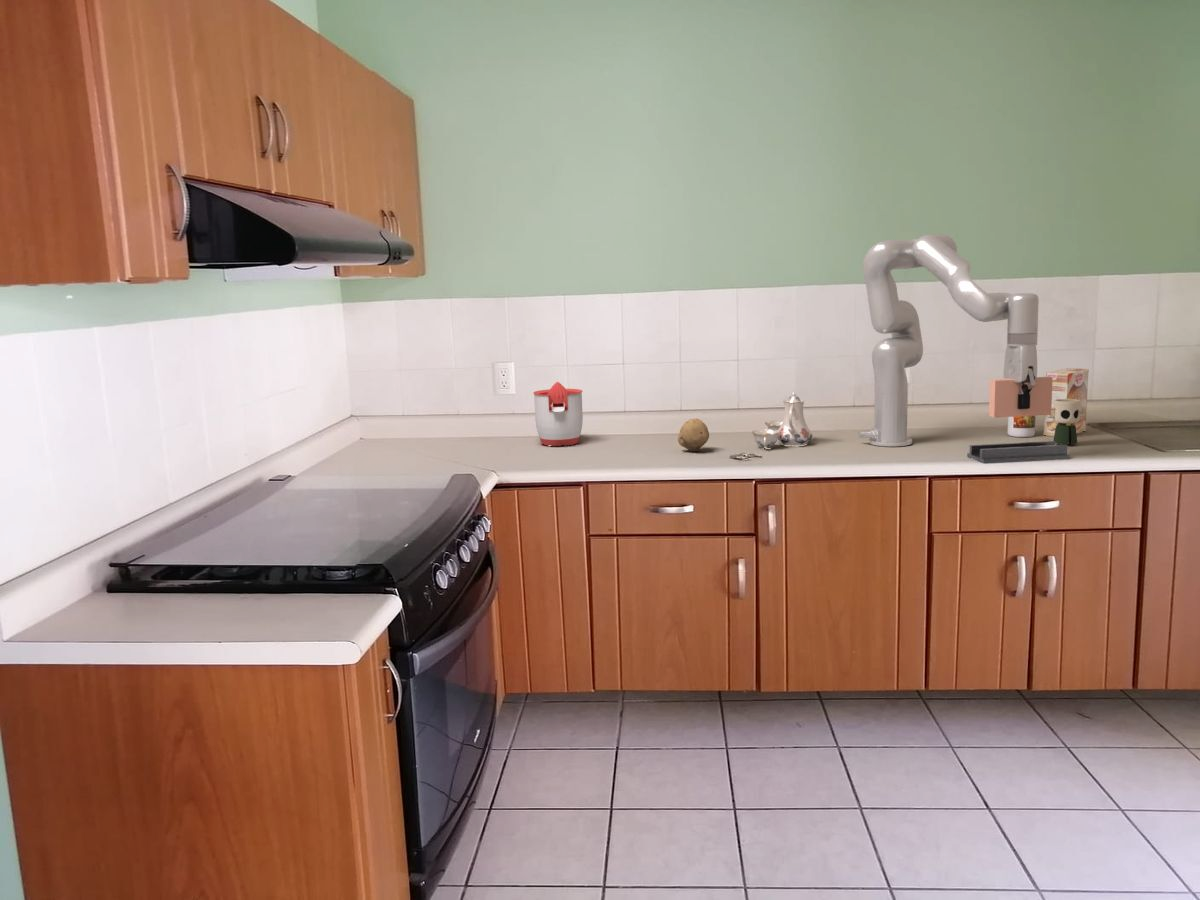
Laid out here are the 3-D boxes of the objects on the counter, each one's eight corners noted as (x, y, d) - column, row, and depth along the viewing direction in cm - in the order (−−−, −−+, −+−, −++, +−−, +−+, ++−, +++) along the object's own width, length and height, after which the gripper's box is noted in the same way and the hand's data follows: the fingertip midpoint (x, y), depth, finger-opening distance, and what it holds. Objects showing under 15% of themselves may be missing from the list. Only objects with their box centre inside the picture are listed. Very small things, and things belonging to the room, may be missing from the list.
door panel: (994, 417, 276) (995, 380, 274) (989, 416, 279) (990, 379, 277) (1051, 414, 278) (1052, 377, 276) (1045, 413, 280) (1046, 376, 279)
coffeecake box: (1065, 438, 308) (1068, 373, 305) (1042, 435, 313) (1044, 372, 310) (1086, 431, 318) (1089, 368, 315) (1063, 429, 323) (1066, 367, 320)
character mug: (1051, 447, 294) (1053, 402, 291) (1040, 443, 301) (1042, 399, 298) (1089, 446, 294) (1091, 401, 291) (1078, 442, 301) (1080, 398, 298)
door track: (983, 463, 275) (984, 450, 274) (967, 456, 284) (967, 444, 284) (1069, 458, 277) (1070, 446, 276) (1050, 452, 286) (1050, 440, 286)
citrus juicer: (534, 450, 319) (531, 386, 316) (536, 440, 336) (533, 380, 333) (585, 448, 320) (582, 384, 316) (584, 439, 337) (581, 378, 333)
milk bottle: (1003, 436, 314) (1005, 371, 311) (1013, 432, 320) (1016, 368, 316) (1028, 438, 309) (1030, 372, 306) (1038, 435, 314) (1041, 369, 311)
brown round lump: (716, 452, 305) (715, 418, 303) (691, 455, 301) (690, 422, 299) (698, 448, 313) (697, 415, 311) (674, 451, 309) (673, 418, 307)
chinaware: (765, 441, 330) (759, 390, 328) (817, 436, 325) (812, 384, 323) (751, 457, 304) (745, 401, 302) (808, 452, 299) (802, 396, 296)
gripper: (994, 338, 283) (992, 405, 286) (1023, 342, 267) (1021, 412, 270) (1020, 337, 283) (1018, 403, 286) (1051, 341, 267) (1049, 411, 270)
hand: (1020, 407), depth 278 cm, fingers closed on door panel, 3 cm apart
